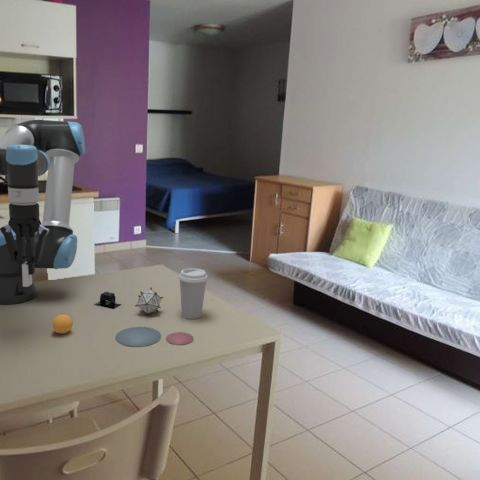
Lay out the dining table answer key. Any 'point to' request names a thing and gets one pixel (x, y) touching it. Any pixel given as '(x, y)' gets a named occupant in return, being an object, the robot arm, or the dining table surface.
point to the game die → (149, 301)
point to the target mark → (138, 336)
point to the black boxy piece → (108, 304)
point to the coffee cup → (192, 292)
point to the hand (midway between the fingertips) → (27, 284)
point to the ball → (62, 324)
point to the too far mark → (179, 338)
